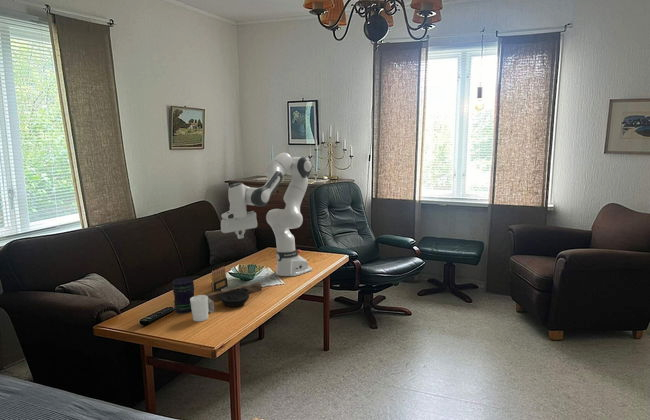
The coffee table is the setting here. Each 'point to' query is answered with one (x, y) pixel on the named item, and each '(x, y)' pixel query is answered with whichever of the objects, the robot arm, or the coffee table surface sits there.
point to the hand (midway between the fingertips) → (240, 238)
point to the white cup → (199, 307)
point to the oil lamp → (234, 297)
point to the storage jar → (183, 294)
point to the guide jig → (215, 296)
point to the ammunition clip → (219, 279)
